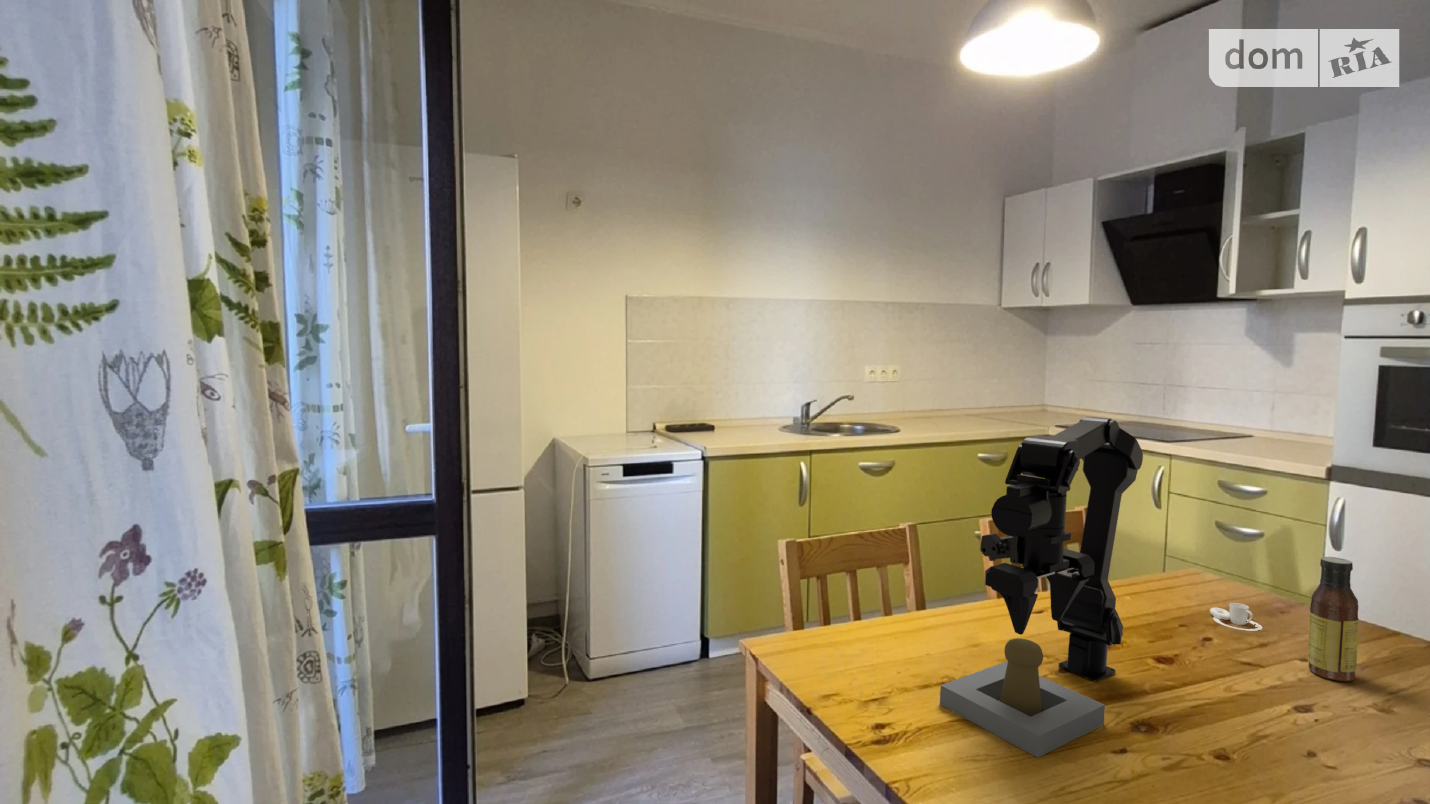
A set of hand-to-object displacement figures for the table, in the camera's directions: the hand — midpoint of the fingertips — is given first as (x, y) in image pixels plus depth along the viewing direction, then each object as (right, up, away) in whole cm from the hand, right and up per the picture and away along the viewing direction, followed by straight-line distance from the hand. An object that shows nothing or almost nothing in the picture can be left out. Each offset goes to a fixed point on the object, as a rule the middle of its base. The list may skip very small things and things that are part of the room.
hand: (1037, 626), depth 105 cm
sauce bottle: (+56, -13, +15) cm, 59 cm away
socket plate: (-3, -13, -1) cm, 13 cm away
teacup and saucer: (+59, -12, +39) cm, 72 cm away
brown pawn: (-3, -13, -1) cm, 13 cm away
